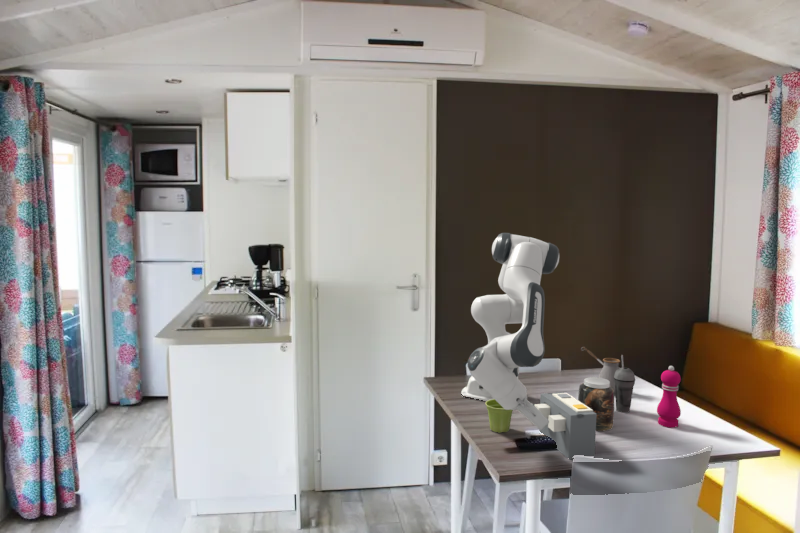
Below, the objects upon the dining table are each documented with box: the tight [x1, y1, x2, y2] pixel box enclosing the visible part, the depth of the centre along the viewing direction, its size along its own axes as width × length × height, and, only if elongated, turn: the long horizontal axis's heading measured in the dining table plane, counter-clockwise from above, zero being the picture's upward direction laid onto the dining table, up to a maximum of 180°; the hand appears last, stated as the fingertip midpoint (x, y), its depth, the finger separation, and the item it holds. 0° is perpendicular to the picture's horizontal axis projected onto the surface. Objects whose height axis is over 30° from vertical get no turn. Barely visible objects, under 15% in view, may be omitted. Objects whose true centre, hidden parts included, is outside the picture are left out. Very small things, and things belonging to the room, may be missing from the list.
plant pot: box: [485, 399, 514, 434], centre depth 194 cm, size 9×9×9 cm
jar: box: [577, 376, 615, 432], centre depth 199 cm, size 12×12×15 cm
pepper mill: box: [656, 365, 682, 429], centre depth 199 cm, size 7×7×20 cm
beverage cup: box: [614, 354, 636, 414], centre depth 212 cm, size 7×7×20 cm
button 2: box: [548, 415, 566, 432], centre depth 176 cm, size 5×4×4 cm
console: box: [538, 391, 597, 460], centre depth 182 cm, size 8×20×14 cm, turn 12°
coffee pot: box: [580, 346, 621, 392], centre depth 238 cm, size 21×12×15 cm, turn 28°
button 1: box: [533, 403, 551, 419], centre depth 185 cm, size 5×4×4 cm
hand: (541, 424), depth 175 cm, fingers closed
